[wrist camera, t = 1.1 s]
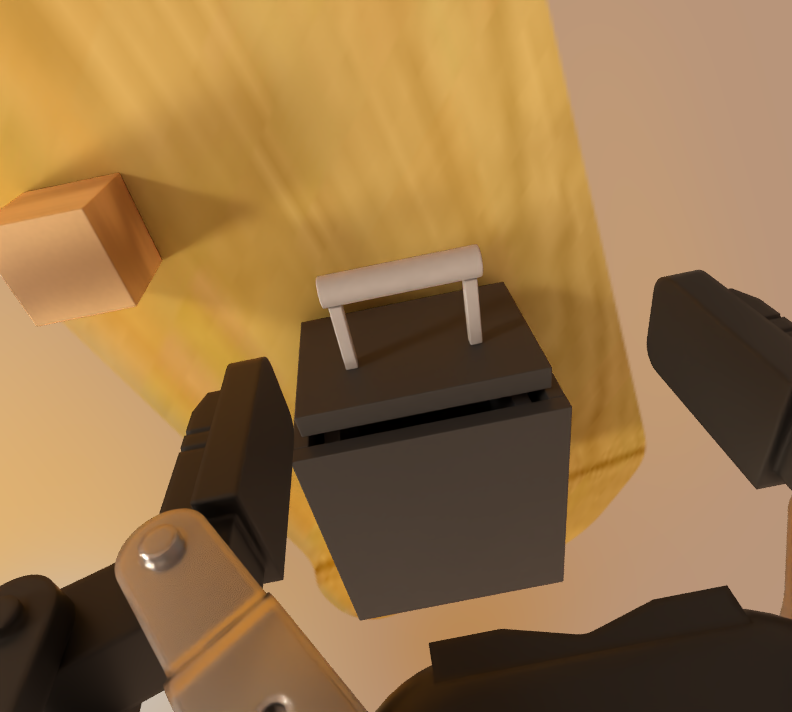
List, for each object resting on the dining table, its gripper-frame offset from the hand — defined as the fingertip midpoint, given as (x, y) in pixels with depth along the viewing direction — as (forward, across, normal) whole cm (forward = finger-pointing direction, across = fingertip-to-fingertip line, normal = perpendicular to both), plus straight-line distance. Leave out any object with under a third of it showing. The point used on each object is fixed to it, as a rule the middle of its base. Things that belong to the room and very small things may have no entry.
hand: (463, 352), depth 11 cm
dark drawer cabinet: (+17, +1, +17) cm, 24 cm away
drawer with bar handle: (+16, +1, +12) cm, 20 cm away
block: (+17, +15, +1) cm, 23 cm away
